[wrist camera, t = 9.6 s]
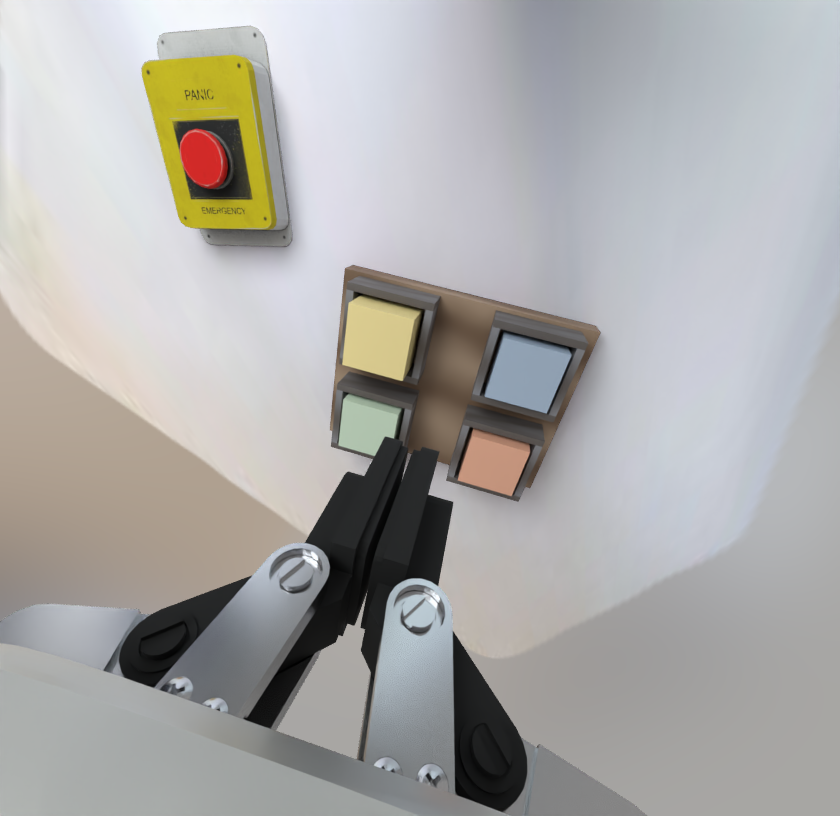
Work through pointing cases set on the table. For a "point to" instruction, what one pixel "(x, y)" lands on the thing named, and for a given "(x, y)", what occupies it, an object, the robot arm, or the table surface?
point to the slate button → (526, 371)
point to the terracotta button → (493, 461)
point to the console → (458, 371)
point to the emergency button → (220, 134)
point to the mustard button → (381, 336)
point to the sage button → (368, 423)
